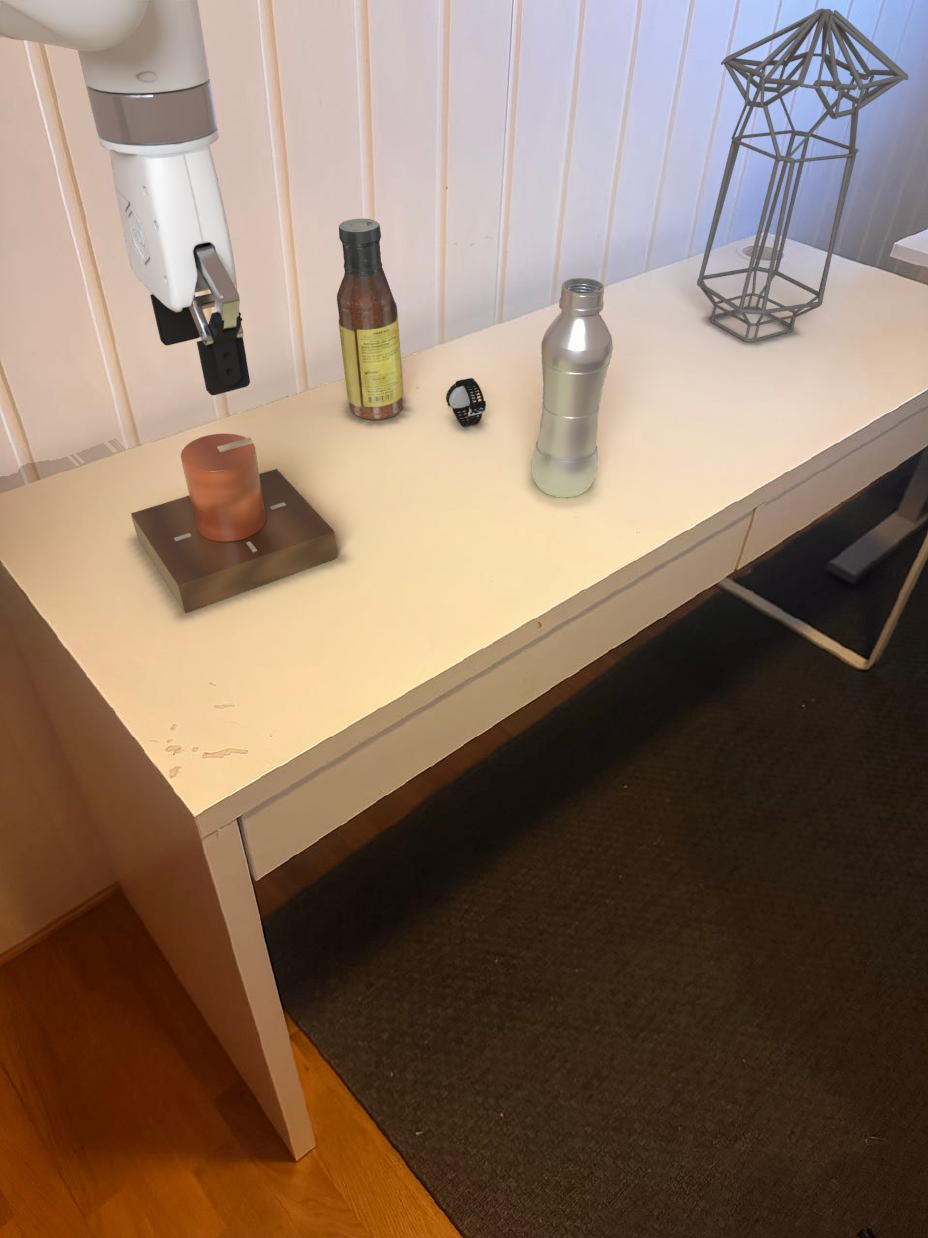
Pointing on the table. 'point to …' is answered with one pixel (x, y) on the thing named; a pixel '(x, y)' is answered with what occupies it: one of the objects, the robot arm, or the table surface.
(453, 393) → the smartwatch
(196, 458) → the rotary dial knob
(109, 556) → the table surface
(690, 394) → the table surface
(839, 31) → the geometric lantern
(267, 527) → the dial base plate
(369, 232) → the sauce bottle
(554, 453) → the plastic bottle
